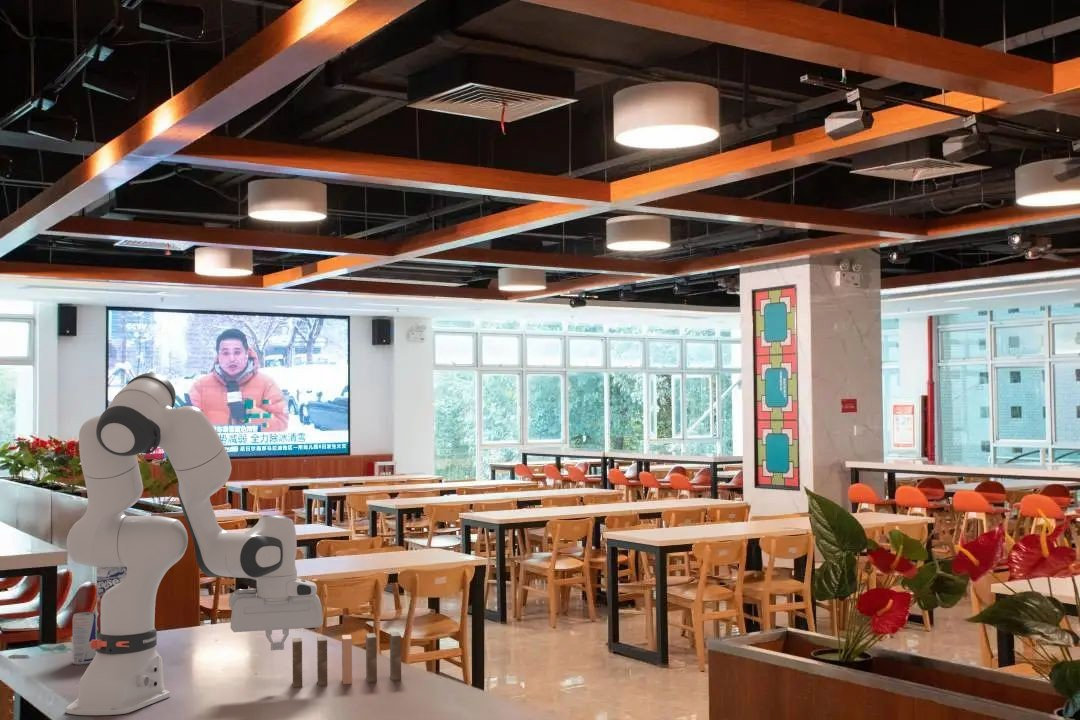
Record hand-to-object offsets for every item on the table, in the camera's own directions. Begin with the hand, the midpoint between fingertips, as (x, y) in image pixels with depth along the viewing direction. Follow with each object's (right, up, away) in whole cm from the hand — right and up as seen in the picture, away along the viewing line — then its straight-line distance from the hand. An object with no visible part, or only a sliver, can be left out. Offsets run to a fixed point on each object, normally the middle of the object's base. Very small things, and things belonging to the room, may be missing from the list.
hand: (277, 649), depth 251 cm
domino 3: (+15, -8, +3) cm, 17 cm away
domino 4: (+20, -8, +5) cm, 22 cm away
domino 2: (+10, -8, +2) cm, 13 cm away
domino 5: (+26, -8, +6) cm, 28 cm away
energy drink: (-55, -11, +28) cm, 63 cm away
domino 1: (+4, -8, +1) cm, 9 cm away
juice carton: (-50, -11, +40) cm, 65 cm away
